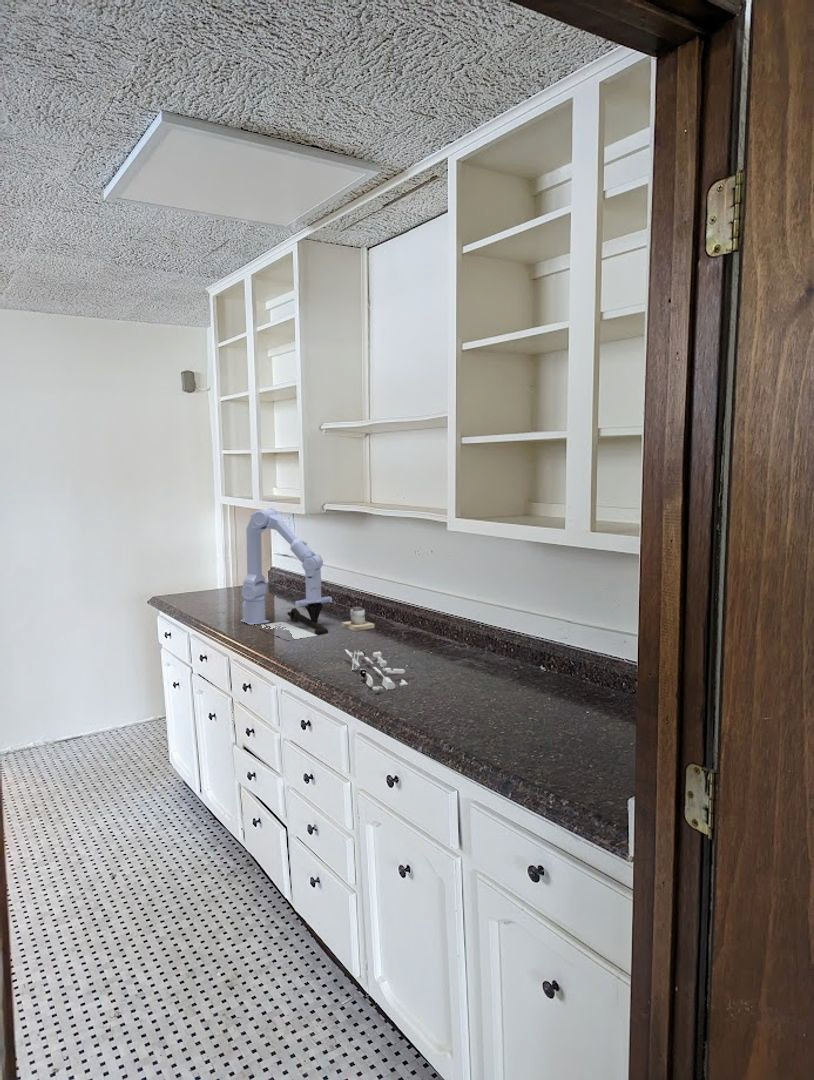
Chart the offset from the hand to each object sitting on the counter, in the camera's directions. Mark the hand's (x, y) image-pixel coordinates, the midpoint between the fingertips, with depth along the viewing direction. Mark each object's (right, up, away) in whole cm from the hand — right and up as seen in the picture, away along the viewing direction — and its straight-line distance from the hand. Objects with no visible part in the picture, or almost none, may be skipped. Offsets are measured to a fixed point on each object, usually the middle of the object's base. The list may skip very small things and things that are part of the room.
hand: (314, 623), depth 264 cm
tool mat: (-10, -2, -7) cm, 12 cm away
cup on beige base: (+16, -1, -3) cm, 17 cm away
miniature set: (+26, -8, -61) cm, 67 cm away
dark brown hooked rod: (-4, -2, 0) cm, 4 cm away
